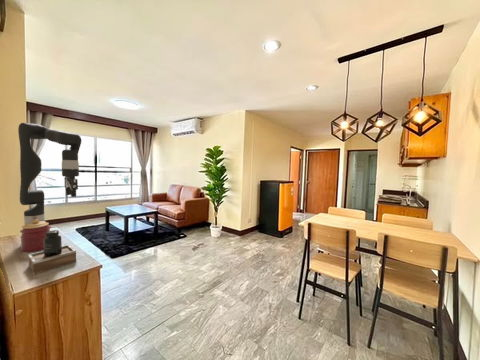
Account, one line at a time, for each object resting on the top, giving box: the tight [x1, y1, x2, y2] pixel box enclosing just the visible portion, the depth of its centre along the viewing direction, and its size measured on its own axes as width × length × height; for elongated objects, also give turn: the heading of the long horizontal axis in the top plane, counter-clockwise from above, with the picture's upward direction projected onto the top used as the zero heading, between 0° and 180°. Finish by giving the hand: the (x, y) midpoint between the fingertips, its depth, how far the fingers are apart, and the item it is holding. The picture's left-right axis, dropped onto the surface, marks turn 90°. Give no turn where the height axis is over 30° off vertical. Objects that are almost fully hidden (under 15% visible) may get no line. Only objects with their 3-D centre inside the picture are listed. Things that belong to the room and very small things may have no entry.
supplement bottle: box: [43, 229, 63, 257], centre depth 104 cm, size 7×7×12 cm
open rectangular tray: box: [27, 244, 77, 275], centre depth 104 cm, size 12×16×6 cm
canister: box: [19, 219, 52, 253], centre depth 121 cm, size 13×13×18 cm
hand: (71, 195), depth 117 cm, fingers open, 8 cm apart
